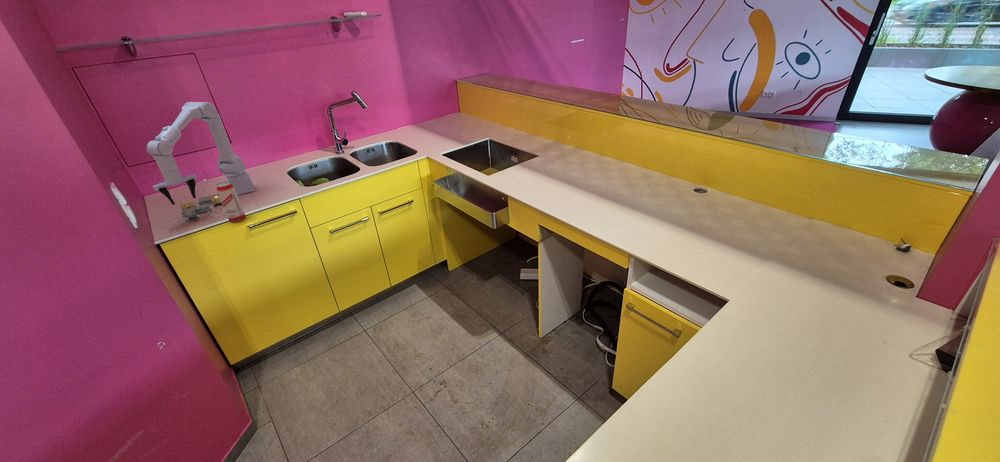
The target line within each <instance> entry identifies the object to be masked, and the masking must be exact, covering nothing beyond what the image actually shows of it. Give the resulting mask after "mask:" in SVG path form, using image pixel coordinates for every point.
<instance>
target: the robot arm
mask: <svg viewBox="0 0 1000 462" xmlns="http://www.w3.org/2000/svg"><path fill="white" fill-rule="evenodd" d="M195 119H196V120H197V119H199V120H202V121H204V122H206V123H207V125H208V128H209V131H210V133H211V136H212V138H213V141H214V144H215V147H216V148H217V152H218V154H219V157H218V158H217V163H218V170H219V172H221V173H222V174H223V175H224V176H226V179H227V182H231V184H232V185H233V186H234V188H235V191H236V193H237V196H240V195H244V194H248V193H252V192H255V187H254V185H255V184H254V182H253V181H252V179H251V175H250V173H249V171H246V165H245V163H244V161H243V160H242V158H241V157H240V156H239V155H237V154H235V153H234V149H233V148H232V146H231V145H232V144H231V142H230V139H229V137H228V135H227V132H226V128H225V126H224V124H223V121H222V118H221V116H220V114H219V113H218V111H217V109H216V106H215V105H214V104H213V103H211V102H209V101H200V102H199V101H187V102H185V103H184V105H182V107H181V111H180V113H179V114H178V116H177V117H176V118H175V120H174V121H173V122H172V124H171V125H167V126H163V127H162V128H161V132H160V133H159V134H158V135H156V136H155V137H154V140H150V141H148V143H147V144H146V152H147V153H148V154H149V155H150V156H152V159H154V160H155V162H156V165H157V167H158V168H159V170H160V172H161V175H162V176H163V179H164V181H161V182H160V183H159V182H158V183H157V184H154V185H152V187H153V190H154V191H155V192H160V193H161V194H162V195H163V196H164V197H165V198H167V199H168V201H169V202H170V203H171V204H172V205H173V206H174V205H176V203H175V201H174V200H173V198H172V196H171V194H170V191H169V190H168V188H170V187H173V186H177V185H181V184H184V183H186V185H187V187H188V189H189V192H190V194H191V197H192V198H193V199H196V198H197V196H196V185H197V183H196V180H198V177H197V176H196V174H195V173H193V174H189V175H182V174H181V171H180V170H179V167H178V164H177V162H176V160H175V158H174V155H173V154H174V147H175V144H176V143H177V142H178V141H179V140H180V138H181V137H182V132H181V131H183V130H184V129H185V128H186V126H188V125H189V124H190V122H191V121H193V120H195Z"/></svg>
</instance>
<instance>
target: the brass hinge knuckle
mask: <svg viewBox="0 0 1000 462" xmlns="http://www.w3.org/2000/svg"><path fill="white" fill-rule="evenodd" d="M187 202H192V203H193V208H194V210H195V212H196V215H198V214H203V213H207V212H211V205H210V204H204V205H197V204H196V202H195V201H194V200H188V201H184V202H180V204H179V205H180V208H181V215H182V217H183V218H185V217H187V214H186V212H185V210H184V208H182V207H181V205H182V204H184V203H187Z"/></svg>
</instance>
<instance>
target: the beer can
mask: <svg viewBox="0 0 1000 462" xmlns="http://www.w3.org/2000/svg"><path fill="white" fill-rule="evenodd" d="M216 194H218V195H219V198H220V200H221V203H222V204H221V205H222V207H223V209H224V213H225V214H226V216H227V219H228V221H230V222H233V223H235V222H236V223H237V222H240V221H242V220H243V219H244V218H245V216H246V214H245V212H244V209H243V207H242V203H241V201H240V199H239V195H237V193H236V191H235V188H234V186H233V185H232V184H231V182H228V181H223V182H220V183H217V184H216Z"/></svg>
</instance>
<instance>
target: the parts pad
mask: <svg viewBox="0 0 1000 462" xmlns="http://www.w3.org/2000/svg"><path fill="white" fill-rule="evenodd" d="M197 217H198V218H197V219H195V220H189V219H188V218H186V220H185V222H187V223H192V222H195V221H198V220H199V216H198V215H197Z"/></svg>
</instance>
